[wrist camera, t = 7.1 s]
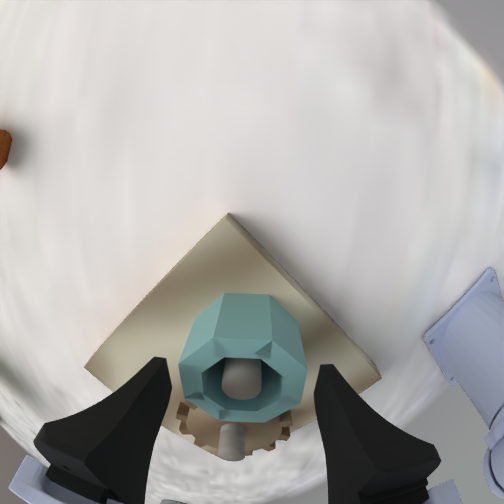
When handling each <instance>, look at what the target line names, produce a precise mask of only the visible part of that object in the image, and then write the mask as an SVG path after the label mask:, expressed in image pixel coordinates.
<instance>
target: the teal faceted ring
mask: <svg viewBox="0 0 504 504" xmlns="http://www.w3.org/2000/svg"><path fill="white" fill-rule="evenodd" d="M226 357H230V358H252V359H261V373H262V388H261V392H260V393H259V394H258V395H257V396H256V397H254V398H251V399H247V400H238V399H234V398H231V397H229V396H228V395H226V394H225V393H224V392H223V390H222V379H223V372H224V366H225V360H226ZM178 367H179V373H180V378H181V383H182V389H183V394H184V398H185V399H187V400H188V401H190V402H191V403H193V404H194V405H196V406H197V407H199V408H200V409H202V410H203V411H205V412H207V413H208V414H210V415H211V416H213V417H215V418H216V419H218V420H221V421H235V422H262V423H265V422H267V421H269V420H271V419H272V418H274V417H276V416H278V415H280V414H282V413H284V412H286V411H288V410H290V409H291V408H293V407H295V406H297V405H298V404H300V403H301V399H302V395H303V390H304V385H305V381H306V376H307V371H308V369H307V364H306V359H305V354H304V350H303V345H302V340H301V336H300V331H299V327H298V322H297V321H296V320H295V319H294V318H293V317H292V316H291V315H290V314H289V313H288V312H287V311H286V310H285V309H284V308H283V307H282V306H281V305H280V304H279V303H278V302H277V301H276V300H275V299H273V298H272V297H271V296H270V295H269V294H244V293H223V294H222V295H221V296H220V297H219V298H218V299H216V300H215V301H214V302H213V303H212V304H211V305H209V306H208V307H207V308H206V309H205V310H204V311H202V312H201V313H200V314H199V315H198V316H197V317H196V318H195V320H194V323H193V325H192V328H191V331H190V333H189V336H188V338H187V341H186V344H185V346H184V349H183V352H182V354H181V357H180V360H179V363H178Z"/></svg>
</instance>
